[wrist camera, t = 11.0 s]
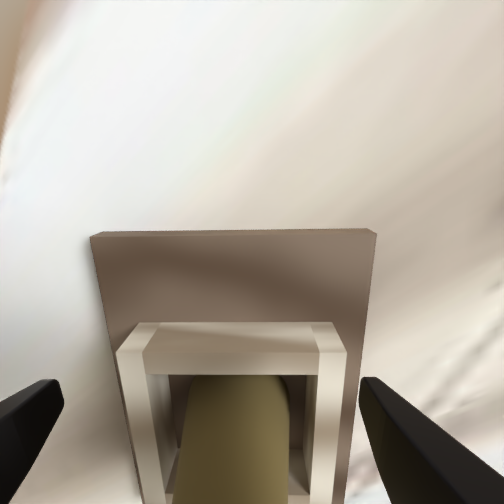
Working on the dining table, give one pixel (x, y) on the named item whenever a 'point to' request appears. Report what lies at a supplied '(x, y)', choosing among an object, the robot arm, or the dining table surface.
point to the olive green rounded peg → (234, 441)
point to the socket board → (238, 337)
